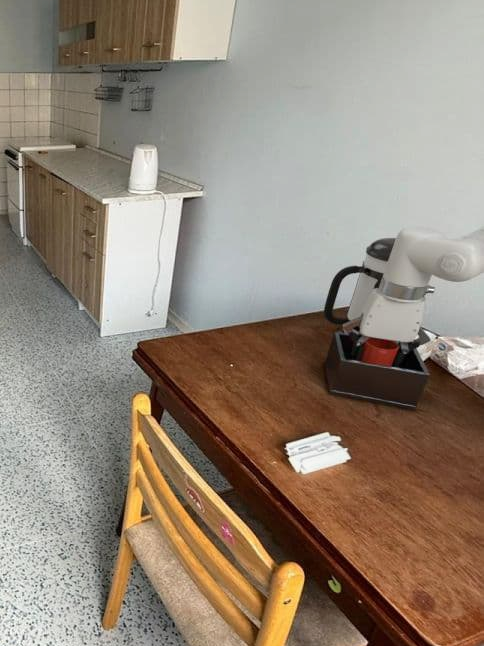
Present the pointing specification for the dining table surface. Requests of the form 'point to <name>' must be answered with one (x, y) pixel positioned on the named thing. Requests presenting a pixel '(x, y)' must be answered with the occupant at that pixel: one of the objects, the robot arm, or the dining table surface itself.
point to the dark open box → (374, 376)
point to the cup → (379, 351)
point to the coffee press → (360, 281)
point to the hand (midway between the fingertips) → (374, 361)
